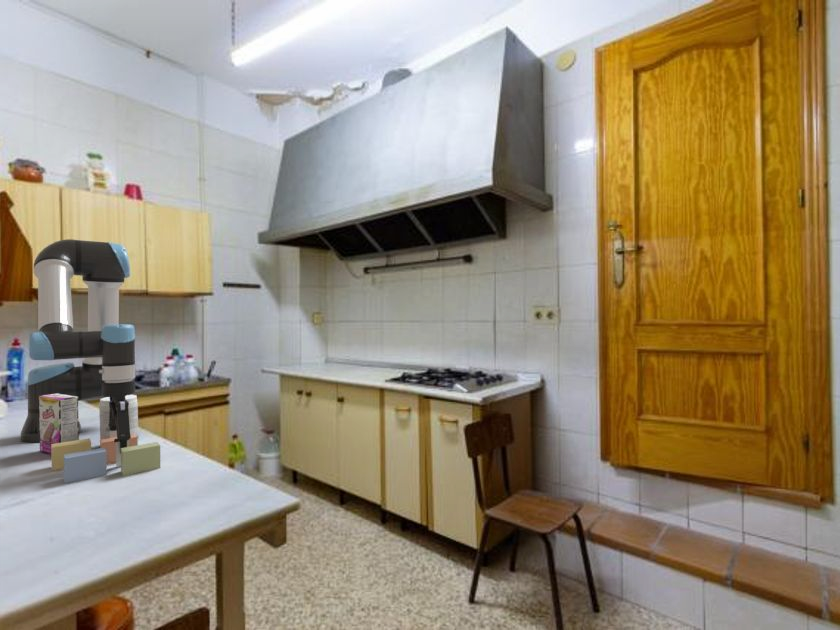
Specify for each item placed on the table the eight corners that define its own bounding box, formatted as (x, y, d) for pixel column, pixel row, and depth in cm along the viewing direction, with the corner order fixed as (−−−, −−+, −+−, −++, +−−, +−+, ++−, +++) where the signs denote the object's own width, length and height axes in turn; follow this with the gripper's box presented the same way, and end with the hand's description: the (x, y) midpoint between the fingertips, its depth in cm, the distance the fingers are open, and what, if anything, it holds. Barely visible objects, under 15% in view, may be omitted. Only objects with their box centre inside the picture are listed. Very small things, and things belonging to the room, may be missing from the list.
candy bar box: (38, 452, 125) (37, 395, 125) (58, 447, 130) (58, 392, 130) (59, 457, 121) (59, 398, 121) (79, 452, 125) (79, 395, 125)
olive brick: (123, 476, 107) (123, 451, 107) (120, 471, 110) (120, 448, 110) (160, 468, 112) (160, 445, 112) (157, 464, 115) (156, 441, 115)
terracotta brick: (102, 465, 115) (101, 442, 114) (100, 461, 117) (100, 439, 117) (137, 458, 120) (137, 437, 120) (135, 455, 123) (134, 434, 123)
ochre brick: (52, 471, 110) (51, 447, 110) (51, 467, 113) (51, 444, 113) (91, 463, 116) (91, 441, 116) (89, 460, 119) (89, 438, 119)
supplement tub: (136, 439, 138) (136, 393, 138) (140, 446, 131) (140, 397, 131) (98, 445, 132) (98, 396, 132) (100, 452, 125) (100, 401, 125)
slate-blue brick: (64, 483, 102) (64, 458, 102) (64, 479, 105) (63, 454, 105) (106, 475, 107) (106, 451, 107) (104, 471, 110) (104, 447, 110)
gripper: (96, 377, 125) (97, 451, 125) (107, 387, 107) (108, 474, 107) (127, 374, 130) (128, 446, 130) (143, 384, 112) (143, 467, 112)
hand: (119, 459), depth 119 cm, fingers open, 12 cm apart
